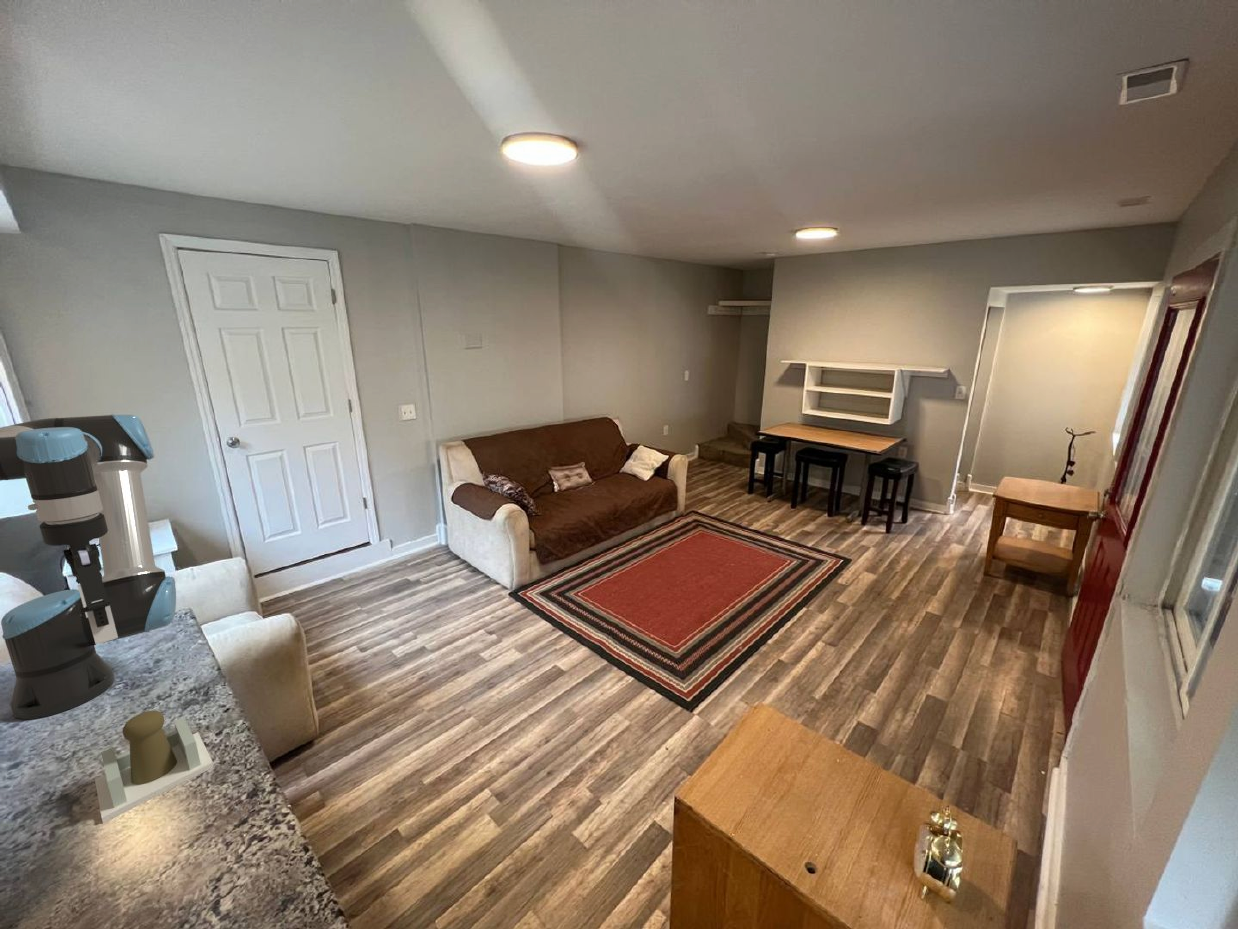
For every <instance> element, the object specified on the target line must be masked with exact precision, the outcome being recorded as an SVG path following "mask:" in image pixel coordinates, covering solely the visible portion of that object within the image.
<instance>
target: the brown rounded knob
mask: <svg viewBox="0 0 1238 929" xmlns="http://www.w3.org/2000/svg"><path fill="white" fill-rule="evenodd" d="M164 724H165V716H164V714H163V713H162V712H161V711H158V710H147V711H144V712H140V713H138V714H137V715H134V716H133V717H131V718H130V719H128V720H127V721H126V722H125V724H124V725H123V728H122V736H123V738H124V739H125V740H127V741H128V742H129V751H130V769H131V783H133V784H135V785H141V784H146V783H149V782H152V781H155V780H157V779H159V778H161V777H162V776H164V775H166V774H167V773H168V772H170V771H171V770H172V769H173V768H174V767H175V766H176V764H177V759H176V757H175V755H174V753H173V751H172V748H171V746H170V744H169V742H168V740H167V738H166V736H165V735H166V734H165V732H164V729H163V727H164Z"/></svg>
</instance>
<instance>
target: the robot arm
mask: <svg viewBox="0 0 1238 929" xmlns="http://www.w3.org/2000/svg"><path fill="white" fill-rule="evenodd" d="M154 458H155V453H154V449H153V447H152V443H151V441H150V439H149V436H148V434H147V431H146V429H145V427H144V424H143V422H142V420H141V418H139V417H138V416H136V415H134V414H133V415H132V414H114V413H112V414H110V415H109V414H108V415H89V416H87V415H86V416H71V417H70V416H69V417H53V418H52V417H51V418H42V419H35V420H30V421H26V422H25V421H24V422H20V423H15V424H10V425H7V426H1V427H0V482H1V481H13V480H22V479H25V480H26V484H27V487H28V490H29V493H30V498H31V499H32V502H33V503H32V504H28V506H27V509H28V510H29V511H35V510H36V511H35V514H36V518H37V521H39V522H41V524H40V525H39V530H40V533H41V538H42V541H43V543H44V544H45V545H47V546H50V547H51V546H53V547H60V546H61V547H62V546H67V549H63V550H62V552H63V555H64V559H65V561H66V563H67V564H68V566H69V567H70V569H71V570H70V572H71V574H72V576H73V577H75V582H76V583H77V588H78V589H73V588H72V589H65V590H60V591H56V592H52V593H48V594H45V595H42V596H39V597H37V598H34V599H31V600H29V601H26V602H24V603H22V604H20V605H17V606H16V607H14V608H13V609H11V610H9V611H7V612H6V613H5V614H4V615H3V617H2V619H1V620H0V624H1V625H0V626H1V629H2V630H1V631H2V639H3V640H4V643H5V645H6V649H7V651H8V655H9V657H10V658H9V659H10V661H11V664H12V667H13V668H12V669H13V671H14V675H15V678H16V679H15V680H16V681H15V685H14V690H13V693H12V699H11V702H10V708H11V711H12V715H13V717H14V718H16V719H18V720H19V719H20V720H34V719H40V718H43V717H44V718H45V717H49V716H53V715H56V714H60V713H62V712H65V711H68V710H71V709H73V708H76V707H78V706H81V705H83V704H84V703H87V702H89V701H91V700H93V699H95V698H96V697H98V696H100V695H101V694H103V693H104V692H105V691H107V690H109V688H110V687H111V686H112V685H113V684H114V682H115V680H116V679H115V674H114V672H113V669H112V668H111V667H110V666H109V664H107V663H106V661H104V659H103V658H102V657H101V656H100V655H99V654H98V653H97V650H96V647H95V646H97V645H100V644H104V643H107V642H108V643H109V642H112V641H116V640H120V639H123V638H128V637H133V636H136V635H140V634H143V633H149V632H151V631H153V630H157V629H160V628H165V627H166V626H169V625H170V624H171V623H172V622H173V621H174V619H175V615H176V608H177V588H176V580H175V577H173V576H167V575H166V571H165V570H164V569H162V568H160V567H158V566H156V562H155V555H154V551H153V544H152V538H151V537H152V536H151V533H150V532H151V531H150V526H149V519H148V512H147V507H146V506H147V505H146V500H145V494H144V488H143V487H144V486H143V481H142V477H141V476H142V475H141V473H142V472H144V470H146V469H147V468H148V462H147V461H148V460H149V461H150V460H151V459H154ZM95 539H98V542H99V548H98V547H97V544H96V543H90V542H91V541H93V540H95ZM99 549H100V550H99ZM100 556H101V560H102V561H100ZM101 562H102V564H101ZM102 570H103V575H102V572H101V571H102Z"/></svg>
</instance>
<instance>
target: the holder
mask: <svg viewBox="0 0 1238 929" xmlns="http://www.w3.org/2000/svg"><path fill="white" fill-rule="evenodd" d="M173 724H174V727H175V728H174V729H175V730H173V731H171V732H168V733H166V734H165V736H166V738H167V740H168V742H169V744H170V746H171V748H172V751H173V753H174V755H175V757H176V759H177V764H176V766H175V767H174V768H173V769H172V770H171V771H170V772H168V773H167V774H166V775H164V776H162V777H161V778H159V779H157V780H155V781H152V782H149V783H146V784H141V785H135V784H133V783H131V769H130V750H128V751H126V752H124V753H121V754H119V755H117V756H116V751H115V748H114V746H112V747H110V748H108V749H105V750H103V751H100V753H101V759H102V762H103V767H104V768H103V769H104V772H105V774H103V775H100V776H98V777H96V778H94V781H95V782H94V783H95V787H96V793H97V800H98V806H99V811H100V816H101V821H102V823H103V824H105V823H106V822H108V821H110V820H113V819H114V818H116V817H118V816H120V815H122V814H124V813H126V812H127V811H128V812H129V811H130V810H132V809H134V808H136V807H138V806H140V805H141V804H143V803H146V802H147V801H149V800H152V799H154V798H155V797H157V796H160V795H161V794H164V793H165V792H167V791H170V790H171V789H173V788H175V787H177V786H179V785H181V784H183V783H185V782H187V781H189V780H191V779H192V778H195V777H196V776H199V775H201V774H203V773H205V772H206V771H209V770H211V769H213V768H215V767H214V765H215V764H214V762H213V760H212V758H211V755H210V754H209V752H208V750H207V748H206V745H205V743H204V741H203V739H202V737H201V735H200V733H199V732H198V731H197V732H195V733H192V730H191V729H190V726H189V724H188V722H187V720H186V717H185V716H182V717H180V718H177V719H175V720H173Z"/></svg>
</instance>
